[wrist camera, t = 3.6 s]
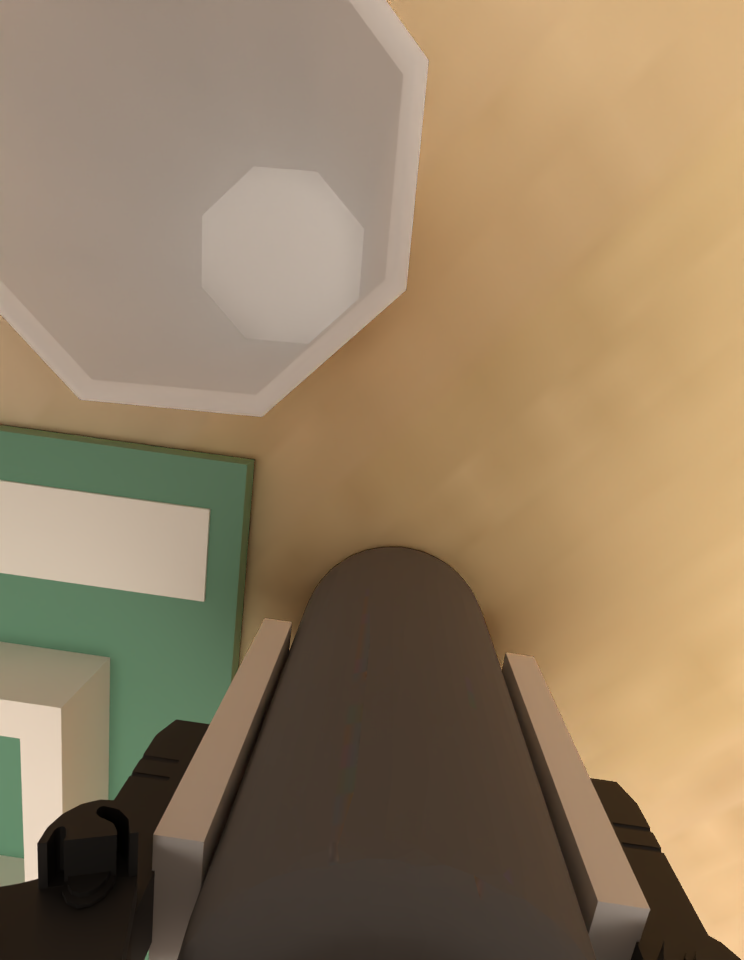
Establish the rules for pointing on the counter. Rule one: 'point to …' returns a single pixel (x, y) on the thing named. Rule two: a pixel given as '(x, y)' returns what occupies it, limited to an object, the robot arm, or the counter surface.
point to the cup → (203, 190)
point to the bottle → (389, 792)
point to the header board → (108, 614)
